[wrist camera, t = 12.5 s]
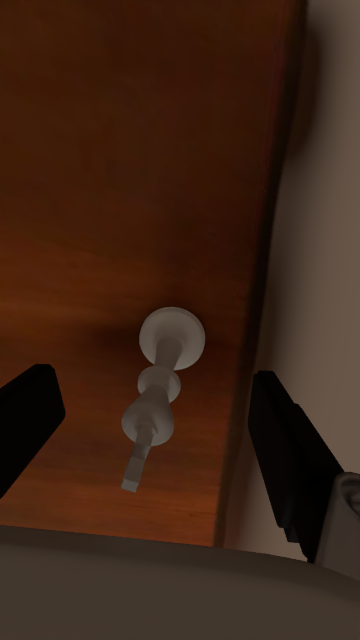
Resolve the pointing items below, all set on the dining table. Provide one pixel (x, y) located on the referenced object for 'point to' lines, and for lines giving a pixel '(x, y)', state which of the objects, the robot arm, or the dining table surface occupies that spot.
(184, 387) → the dining table surface
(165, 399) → the chess piece
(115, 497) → the dining table surface
